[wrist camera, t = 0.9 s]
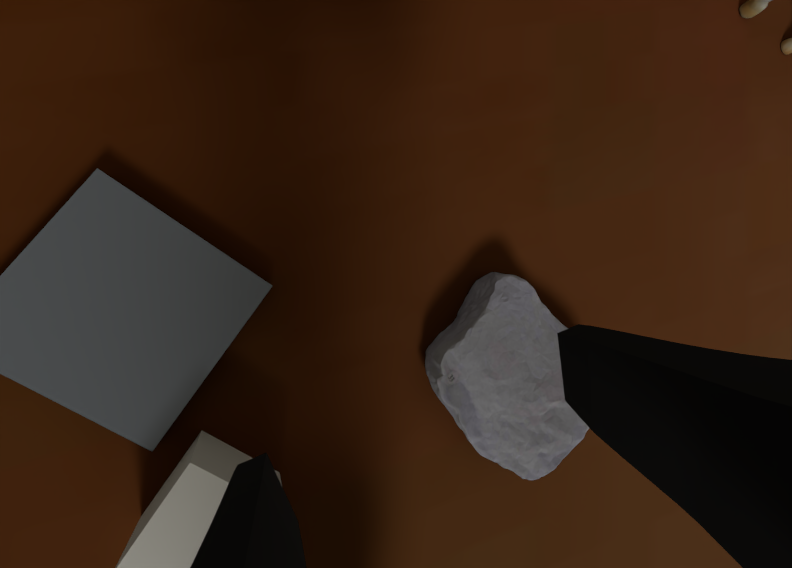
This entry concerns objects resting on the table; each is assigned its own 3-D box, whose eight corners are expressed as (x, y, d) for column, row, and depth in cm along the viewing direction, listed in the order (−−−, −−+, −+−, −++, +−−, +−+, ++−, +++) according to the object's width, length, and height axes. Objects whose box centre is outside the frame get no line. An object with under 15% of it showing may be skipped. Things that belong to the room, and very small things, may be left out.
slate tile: (158, 442, 22) (152, 451, 21) (-39, 339, 20) (-60, 342, 18) (271, 286, 25) (272, 285, 23) (106, 176, 22) (97, 168, 21)
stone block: (504, 469, 32) (593, 369, 32) (536, 508, 27) (640, 390, 27) (390, 365, 29) (487, 260, 30) (403, 388, 25) (518, 263, 25)
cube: (226, 555, 23) (220, 619, 19) (141, 515, 22) (112, 573, 17) (279, 472, 24) (287, 512, 20) (201, 429, 23) (190, 462, 19)
